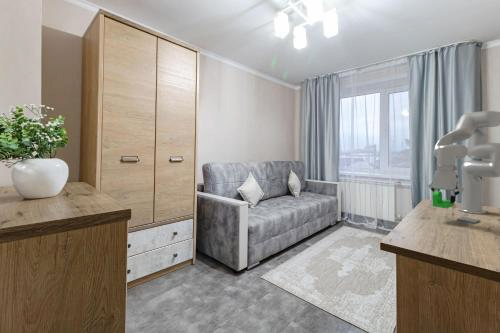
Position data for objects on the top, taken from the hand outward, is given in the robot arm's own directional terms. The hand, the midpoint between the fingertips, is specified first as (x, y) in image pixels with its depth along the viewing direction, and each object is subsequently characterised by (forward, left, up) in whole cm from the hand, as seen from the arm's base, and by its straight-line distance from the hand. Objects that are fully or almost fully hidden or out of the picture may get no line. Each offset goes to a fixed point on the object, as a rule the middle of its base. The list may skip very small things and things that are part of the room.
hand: (444, 201), depth 124 cm
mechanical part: (0, 0, -3) cm, 3 cm away
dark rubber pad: (-10, +7, -10) cm, 16 cm away
